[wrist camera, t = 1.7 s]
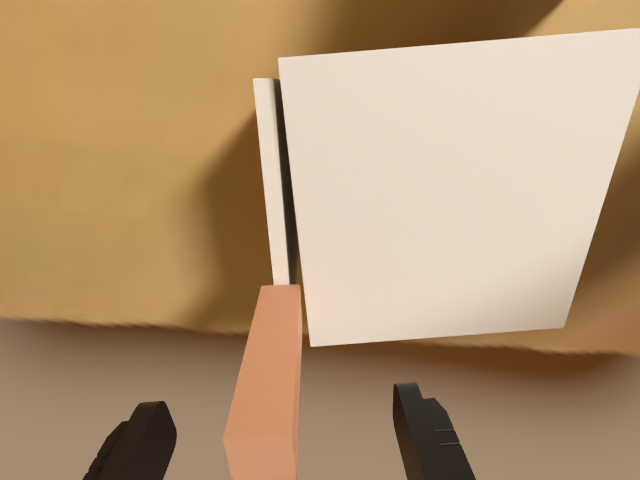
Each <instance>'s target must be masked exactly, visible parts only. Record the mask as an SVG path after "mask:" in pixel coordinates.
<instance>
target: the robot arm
mask: <svg viewBox="0 0 640 480" xmlns="http://www.w3.org/2000/svg"><path fill="white" fill-rule="evenodd" d="M393 421H394V427H395V432H396V436H397V440H398V444H399V448H400V452H401V456H402V459H403V464H404V468H405V472H406V475H407V479H408V480H476V479H475V476H474V474H473V472H472V469H471V467H470V465H469V463H468V460H467V458H466V455H465V453H464V451H463V449H462V446H461V445H460V443H459V439H458V437H457V435H456V432H455V431H454V428H453V425H452V423H451V421H450V418H449V416H448V414H447V412H446V410H445V409H444V408H443V407H442V406H441V405H440V404H439V403H438V401H437V400H436V399H435V398H428V399H423V398H422V395H421V392H420V390H419V387H418V385H417V383H416V382H410V383H398V384H394V391H393ZM176 438H177V432H176V428H175V425H174V423H173V420H172V417H171V415H170V412H169V410H168V407H167V405H166V403H165V402H164V401H158V402H145V403H140V404H139V405H138V406H137V407H136V409H135V411H134V412H133V414H132V416H131V418H130V419H129V421H124V422H121V423H120V424H119V425H118V426H117V427H116V428H115V430H114V431H113V432H112V433H111V434H110V435H109V436H108V437H107V438H106V440H105V442H104V444H103V445H102V447H101V449H100V450H99V452H98V454H97V458H95V459H94V461H93V463H92V464H91V466H90V468H89V472H88V473H86V475H85V476H84V478H83V480H163V478H164V475H165V473H166V470H167V467H168V464H169V462H170V459H171V457H172V454H173V451H174V448H175V445H176Z"/></svg>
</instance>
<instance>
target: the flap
mask: <svg viewBox="0 0 640 480" xmlns="http://www.w3.org/2000/svg"><path fill="white" fill-rule="evenodd" d="M253 85H254V95H255V104H256V114H257V124H258V134H259V144H260V154H261V164H262V174H263V184H264V193H265V203H266V213H267V223H268V233H269V243H270V253H271V263H272V273H273V282H274V285H265V286H261V289H260V293H259V297H258V301H257V305H256V309H255V313H254V317H253V321H252V325H251V329H250V333H249V337H248V341H247V345H246V348H245V352H244V356H243V360H242V364H241V368H240V372H239V376H238V380H237V384H236V388H235V391H234V395H233V399H232V403H231V407H230V411H229V415H228V419H227V423H226V427H225V431H224V435H223V439H222V440H223V445H224V449H225V453H226V457H227V461H228V465H229V469H230V474H231V478H232V480H297V460H298V459H297V458H298V433H299V405H300V379H301V378H300V377H301V351H302V324H303V320H302V303H301V286H300V284H297V279H298V265H299V245H298V232H297V223H296V215H295V206H294V197H293V188H292V179H291V171H290V162H289V153H288V144H287V135H286V127H285V118H284V109H283V100H282V91H281V83H280V80H278V79H275V78H253Z"/></svg>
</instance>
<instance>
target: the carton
mask: <svg viewBox="0 0 640 480" xmlns="http://www.w3.org/2000/svg"><path fill="white" fill-rule="evenodd" d="M278 65H279V74H280V83H281V91H282V100H283V109H284V118H285V127H286V135H287V144H288V153H289V162H290V171H291V179H292V188H293V197H294V206H295V215H296V223H297V232H298V241H299V250H300V259H301V267H302V276H303V285H304V294H305V303H306V311H307V320H308V329H309V338H310V346H311V347H314V346H327V345H340V344H354V343H367V342H381V341H394V340H407V339H421V338H434V337H447V336H460V335H474V334H487V333H500V332H514V331H527V330H540V329H553V328H564V325H565V322H566V319H567V316H568V313H569V310H570V307H571V303H572V300H573V297H574V294H575V291H576V288H577V284H578V281H579V278H580V275H581V272H582V269H583V265H584V262H585V259H586V256H587V253H588V250H589V246H590V243H591V240H592V237H593V234H594V231H595V228H596V224H597V221H598V218H599V215H600V212H601V209H602V205H603V202H604V199H605V196H606V193H607V190H608V186H609V183H610V180H611V177H612V174H613V171H614V167H615V164H616V161H617V158H618V155H619V152H620V149H621V145H622V142H623V139H624V136H625V133H626V130H627V126H628V123H629V120H630V117H631V114H632V111H633V107H634V104H635V101H636V98H637V95H638V92H639V88H640V28H633V29H620V30H608V31H596V32H584V33H572V34H560V35H548V36H536V37H524V38H512V39H500V40H488V41H476V42H464V43H452V44H440V45H427V46H415V47H403V48H391V49H379V50H367V51H355V52H343V53H331V54H319V55H307V56H295V57H283V58H278Z"/></svg>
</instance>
